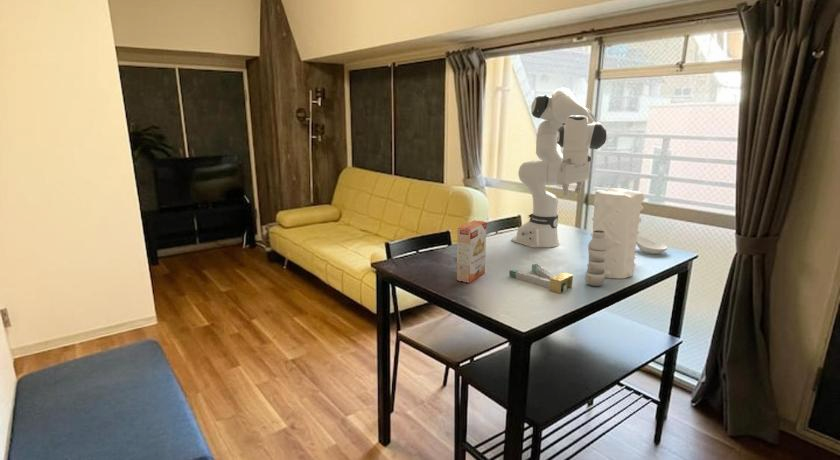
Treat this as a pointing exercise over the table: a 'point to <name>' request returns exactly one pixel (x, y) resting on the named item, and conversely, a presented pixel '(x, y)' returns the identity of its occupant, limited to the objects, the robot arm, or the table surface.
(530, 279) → the green-tipped wooden stick
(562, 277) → the lock collar
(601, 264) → the plastic bottle
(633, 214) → the white bumpy sculpture
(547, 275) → the tong arm
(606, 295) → the table surface
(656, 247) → the spoon rest
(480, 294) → the table surface
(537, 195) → the robot arm
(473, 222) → the cracker box
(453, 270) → the table surface
